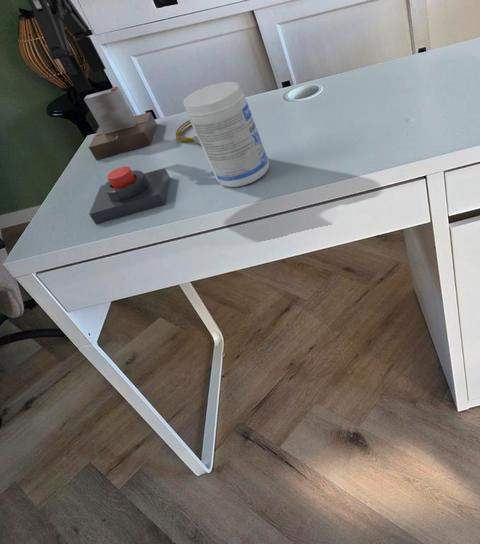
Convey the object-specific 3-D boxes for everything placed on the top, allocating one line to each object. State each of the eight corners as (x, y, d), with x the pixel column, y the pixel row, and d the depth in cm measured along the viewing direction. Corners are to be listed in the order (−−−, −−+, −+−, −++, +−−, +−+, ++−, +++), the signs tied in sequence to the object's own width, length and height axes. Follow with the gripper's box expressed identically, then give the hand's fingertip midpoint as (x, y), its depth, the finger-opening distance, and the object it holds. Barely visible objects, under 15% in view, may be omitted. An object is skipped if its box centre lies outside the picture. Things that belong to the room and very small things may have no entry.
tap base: (96, 160, 104) (87, 146, 102) (106, 137, 113) (99, 125, 111) (150, 144, 105) (143, 131, 103) (156, 123, 114) (150, 110, 112)
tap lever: (104, 134, 106) (83, 98, 101) (106, 130, 108) (85, 94, 103) (135, 126, 106) (116, 89, 101) (137, 122, 108) (117, 85, 103)
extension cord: (173, 157, 98) (169, 148, 96) (179, 126, 110) (175, 118, 108) (232, 140, 98) (228, 131, 97) (232, 112, 110) (229, 103, 109)
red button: (111, 191, 83) (104, 181, 81) (115, 180, 86) (109, 170, 84) (134, 185, 83) (128, 174, 81) (137, 174, 86) (131, 164, 84)
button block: (96, 224, 82) (82, 205, 80) (107, 195, 90) (95, 177, 87) (165, 205, 83) (154, 185, 80) (170, 178, 91) (160, 158, 88)
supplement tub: (279, 171, 84) (250, 87, 75) (230, 195, 81) (194, 111, 71) (256, 155, 91) (226, 76, 81) (210, 177, 88) (173, 98, 78)
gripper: (27, -37, 77) (98, 94, 91) (67, -52, 96) (120, 58, 110) (-21, -25, 77) (58, 105, 90) (29, -43, 96) (87, 67, 109)
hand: (92, 80), depth 100 cm, fingers open, 13 cm apart
